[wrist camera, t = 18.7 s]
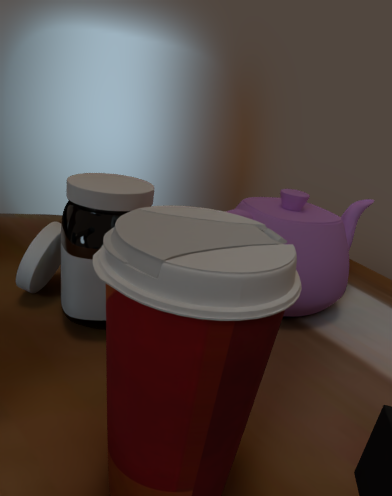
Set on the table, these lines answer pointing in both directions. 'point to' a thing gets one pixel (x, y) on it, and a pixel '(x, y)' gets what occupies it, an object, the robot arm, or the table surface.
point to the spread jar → (82, 242)
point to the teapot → (310, 243)
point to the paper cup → (187, 342)
